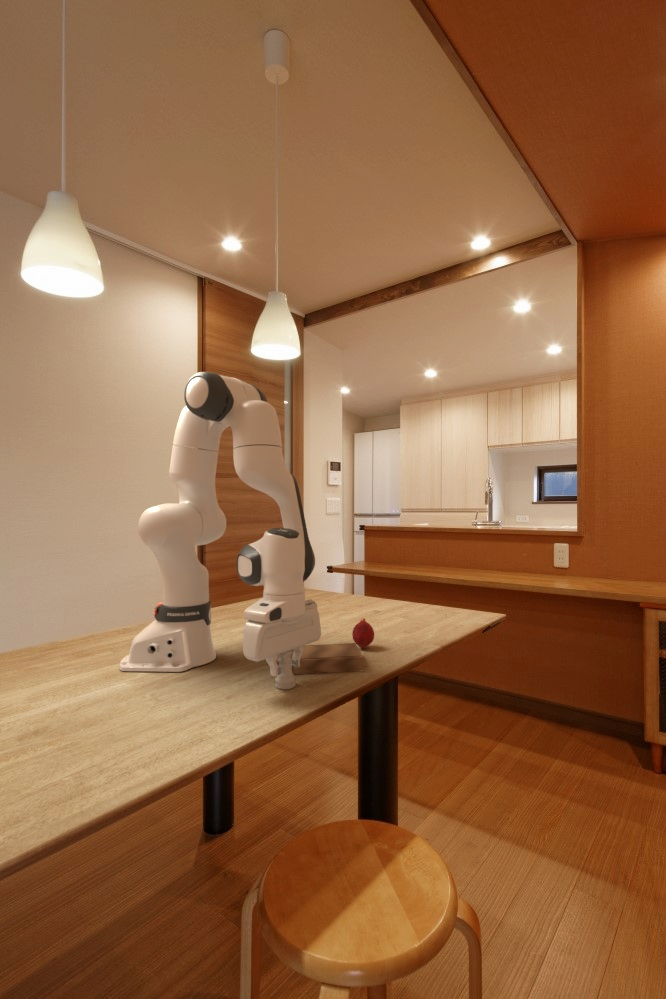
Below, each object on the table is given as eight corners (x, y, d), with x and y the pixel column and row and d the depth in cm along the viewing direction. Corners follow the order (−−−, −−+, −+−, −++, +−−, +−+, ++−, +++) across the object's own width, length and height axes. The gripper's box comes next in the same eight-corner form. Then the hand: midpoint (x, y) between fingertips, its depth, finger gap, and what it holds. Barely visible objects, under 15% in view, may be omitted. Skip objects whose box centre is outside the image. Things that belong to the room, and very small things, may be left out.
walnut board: (275, 675, 111) (275, 661, 111) (275, 658, 123) (275, 646, 123) (363, 670, 113) (363, 656, 113) (355, 654, 125) (355, 642, 125)
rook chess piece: (287, 691, 101) (286, 652, 101) (270, 687, 103) (269, 649, 103) (300, 684, 105) (299, 647, 105) (283, 681, 107) (282, 644, 107)
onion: (375, 651, 127) (374, 620, 127) (352, 652, 127) (352, 620, 127) (373, 645, 133) (373, 615, 133) (352, 645, 133) (351, 615, 133)
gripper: (305, 596, 114) (306, 656, 114) (237, 612, 98) (238, 682, 98) (327, 599, 110) (327, 661, 110) (259, 616, 94) (260, 689, 94)
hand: (285, 671), depth 104 cm, fingers open, 4 cm apart
